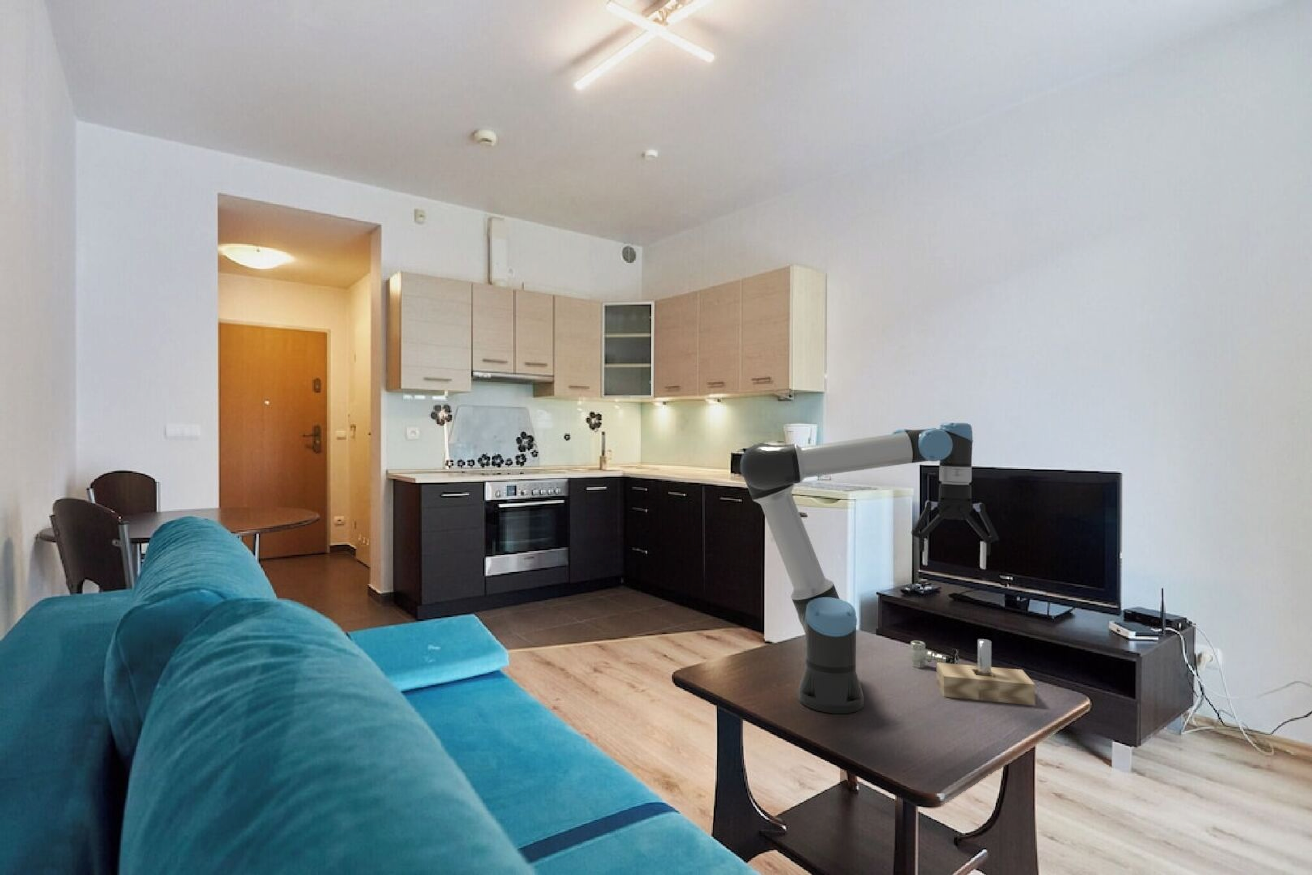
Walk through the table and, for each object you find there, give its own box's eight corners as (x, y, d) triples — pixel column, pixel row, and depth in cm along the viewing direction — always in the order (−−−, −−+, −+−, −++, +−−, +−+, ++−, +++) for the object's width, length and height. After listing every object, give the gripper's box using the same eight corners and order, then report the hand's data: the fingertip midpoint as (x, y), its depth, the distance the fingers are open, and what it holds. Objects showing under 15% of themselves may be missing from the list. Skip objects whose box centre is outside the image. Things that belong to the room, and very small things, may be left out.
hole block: (943, 696, 156) (943, 676, 156) (936, 681, 165) (936, 662, 165) (1035, 705, 151) (1035, 684, 151) (1022, 689, 160) (1022, 669, 160)
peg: (979, 694, 157) (979, 642, 157) (976, 690, 160) (976, 638, 160) (992, 696, 156) (992, 643, 156) (989, 691, 159) (989, 639, 159)
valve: (907, 667, 176) (954, 677, 169) (907, 644, 176) (954, 652, 169) (912, 661, 181) (958, 669, 174) (912, 638, 181) (958, 645, 174)
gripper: (904, 482, 162) (903, 565, 162) (1013, 486, 155) (1011, 572, 155) (901, 480, 169) (899, 560, 169) (1005, 484, 162) (1003, 566, 162)
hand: (953, 566), depth 162 cm, fingers open, 13 cm apart
